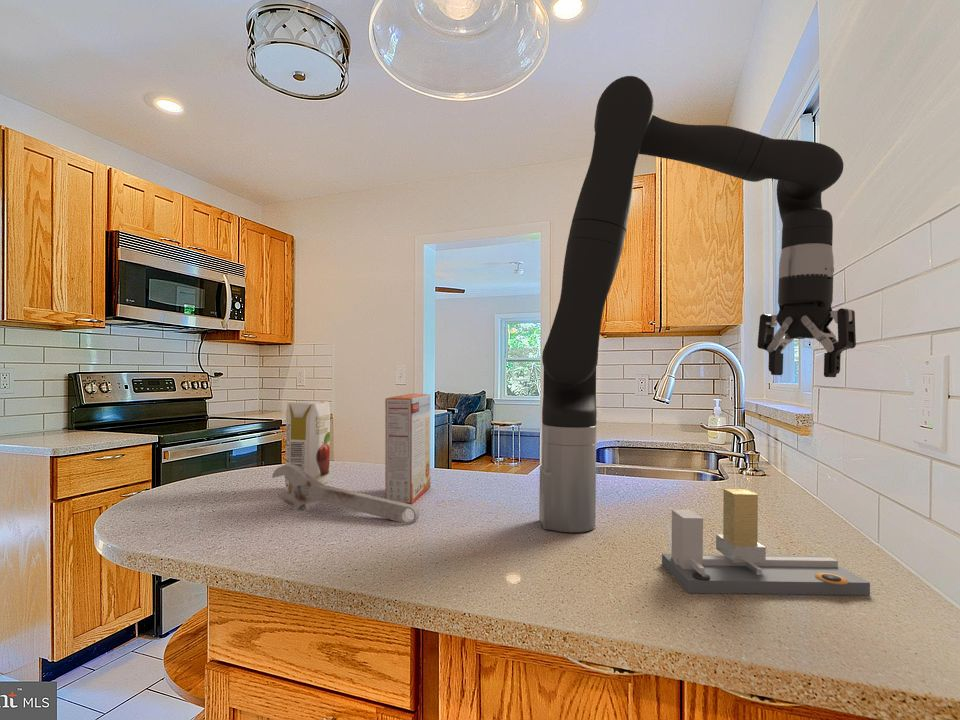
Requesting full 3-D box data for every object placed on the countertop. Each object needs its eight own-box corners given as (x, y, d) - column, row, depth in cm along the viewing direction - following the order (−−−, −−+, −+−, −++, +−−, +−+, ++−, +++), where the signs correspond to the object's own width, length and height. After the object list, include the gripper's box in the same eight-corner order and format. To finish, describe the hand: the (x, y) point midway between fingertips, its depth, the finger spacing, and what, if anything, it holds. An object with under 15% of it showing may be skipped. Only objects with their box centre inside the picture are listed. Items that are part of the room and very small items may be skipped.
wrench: (412, 541, 89) (268, 504, 98) (417, 538, 91) (275, 502, 100) (418, 495, 89) (273, 462, 98) (422, 492, 91) (279, 461, 100)
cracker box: (404, 487, 116) (406, 393, 116) (431, 488, 115) (432, 393, 115) (382, 503, 102) (384, 396, 102) (412, 505, 101) (413, 397, 101)
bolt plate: (690, 595, 62) (691, 528, 62) (661, 564, 72) (662, 506, 72) (874, 597, 62) (874, 530, 62) (821, 566, 72) (821, 508, 72)
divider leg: (742, 574, 64) (743, 500, 64) (715, 553, 71) (716, 487, 71) (775, 574, 64) (776, 501, 64) (745, 553, 71) (745, 487, 71)
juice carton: (280, 494, 108) (281, 402, 108) (300, 485, 116) (302, 400, 116) (314, 496, 106) (315, 403, 107) (332, 487, 115) (334, 401, 115)
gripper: (749, 279, 89) (746, 374, 89) (839, 266, 76) (836, 377, 76) (777, 283, 92) (774, 375, 92) (867, 272, 80) (864, 378, 80)
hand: (802, 376), depth 84 cm, fingers open, 8 cm apart
